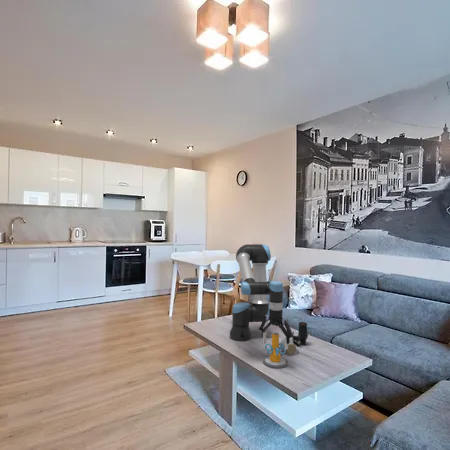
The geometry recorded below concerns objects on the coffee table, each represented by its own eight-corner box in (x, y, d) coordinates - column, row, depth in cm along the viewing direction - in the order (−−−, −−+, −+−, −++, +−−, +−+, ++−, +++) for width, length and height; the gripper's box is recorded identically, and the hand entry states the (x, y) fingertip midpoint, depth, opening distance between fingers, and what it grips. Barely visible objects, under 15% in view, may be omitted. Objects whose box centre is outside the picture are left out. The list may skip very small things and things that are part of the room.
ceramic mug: (286, 356, 182) (286, 343, 182) (279, 350, 190) (280, 338, 190) (301, 354, 185) (302, 341, 185) (294, 349, 193) (294, 337, 193)
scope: (291, 322, 202) (303, 320, 207) (291, 343, 202) (303, 341, 207) (299, 326, 195) (311, 324, 199) (299, 347, 195) (311, 345, 199)
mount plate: (258, 363, 172) (258, 361, 172) (269, 355, 183) (269, 353, 183) (281, 370, 164) (281, 368, 164) (291, 361, 175) (291, 359, 175)
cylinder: (263, 355, 179) (264, 330, 179) (281, 355, 180) (281, 330, 180) (268, 365, 167) (268, 337, 167) (287, 364, 168) (287, 337, 168)
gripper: (253, 306, 177) (252, 342, 178) (294, 314, 163) (293, 354, 163) (259, 303, 184) (259, 339, 184) (299, 311, 169) (298, 349, 170)
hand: (275, 346), depth 174 cm, fingers open, 13 cm apart
